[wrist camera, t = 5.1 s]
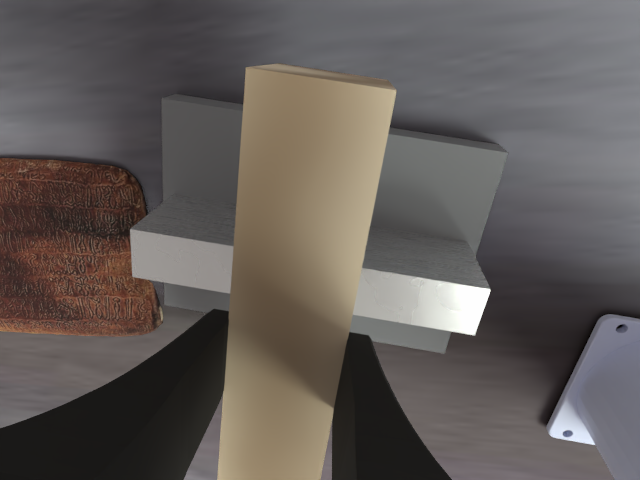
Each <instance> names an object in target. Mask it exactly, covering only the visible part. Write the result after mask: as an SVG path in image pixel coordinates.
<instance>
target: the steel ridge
mask: <svg viewBox="0 0 640 480" xmlns="http://www.w3.org/2000/svg"><path fill="white" fill-rule="evenodd" d="M235 218H236V204H235V203H229V202H222V201H216V200H210V199H204V198H198V197H192V196H186V195H180V194H172V195H171V196H170V197H169V198H168V199H166V200H165V201H164V202H163V203H161V204H160V205H159V206H158V207H157V208H155V209H154V210H153V211H152V212H150V213H149V214H148V215H147V216H145V217H144V218H143V219H142V220H141V221H139V222H138V223H137V224H136V225H134V226H133V227H132V228H131V229H130V239H131V259H132V277H136V278H141V279H147V280H153V281H159V282H165V283H171V284H177V285H182V286H188V287H194V288H200V289H206V290H212V291H217V292H223V293H229V294H230V291H231V276H232V262H233V247H234V233H235ZM490 290H491V289H490V287H489V285H488V283H487V281H486V278H485V276H484V274H483V272H482V270H481V268H480V266H479V264H478V262H477V260H476V258H475V255H474V253H473V251H472V249H471V247H470V245H469V243H468V242H466V241H460V240H454V239H448V238H442V237H436V236H429V235H423V234H417V233H411V232H405V231H399V230H393V229H387V228H381V227H375V226H370V229H369V234H368V239H367V244H366V249H365V255H364V260H363V265H362V270H361V275H360V280H359V285H358V290H357V295H356V300H355V305H354V310H353V315H358V316H364V317H370V318H375V319H381V320H387V321H393V322H399V323H405V324H411V325H416V326H422V327H428V328H434V329H440V330H446V331H452V332H457V333H463V334H469V335H475V333H476V330H477V328H478V325H479V322H480V319H481V316H482V313H483V310H484V307H485V305H486V302H487V299H488V296H489V293H490Z"/></svg>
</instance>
